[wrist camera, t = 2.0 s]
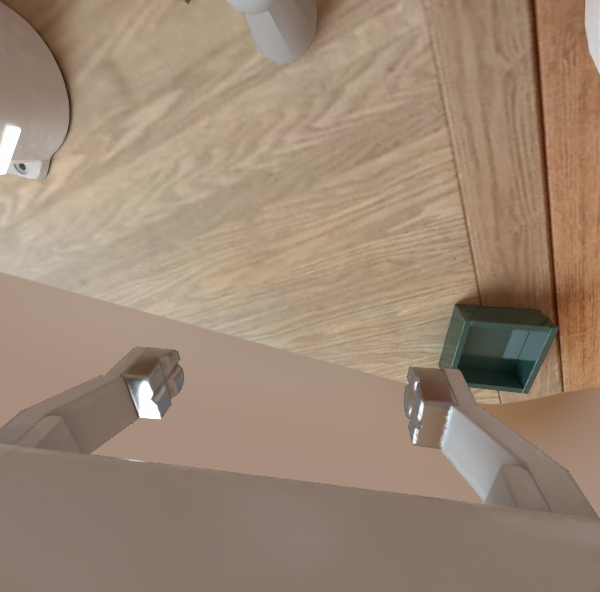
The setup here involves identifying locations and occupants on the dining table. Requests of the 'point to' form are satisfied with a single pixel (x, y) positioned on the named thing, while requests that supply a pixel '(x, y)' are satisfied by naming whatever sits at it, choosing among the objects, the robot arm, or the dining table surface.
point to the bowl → (593, 29)
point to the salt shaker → (280, 26)
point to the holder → (497, 346)
